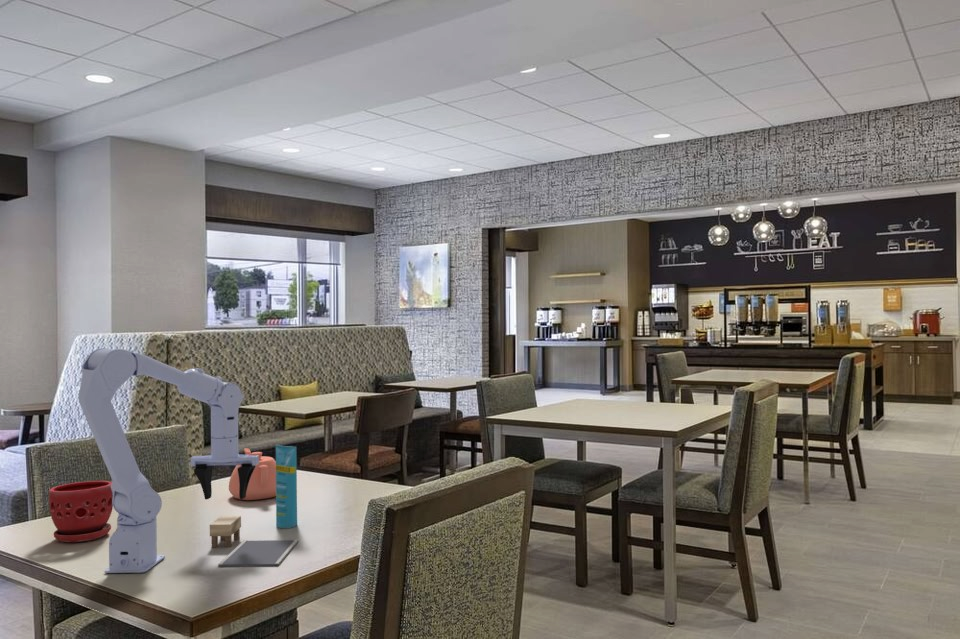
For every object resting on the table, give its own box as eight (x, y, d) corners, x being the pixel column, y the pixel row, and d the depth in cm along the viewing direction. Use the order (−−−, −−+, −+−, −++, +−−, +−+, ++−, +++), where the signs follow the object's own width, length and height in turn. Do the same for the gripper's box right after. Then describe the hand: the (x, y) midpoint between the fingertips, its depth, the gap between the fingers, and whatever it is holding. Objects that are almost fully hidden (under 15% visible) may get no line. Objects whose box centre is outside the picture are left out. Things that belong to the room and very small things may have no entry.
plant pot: (127, 531, 172) (126, 480, 172) (82, 547, 160) (82, 492, 160) (81, 527, 176) (81, 477, 176) (35, 543, 163) (34, 489, 163)
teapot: (220, 491, 212) (220, 449, 212) (272, 485, 220) (272, 444, 220) (237, 507, 193) (237, 460, 194) (294, 499, 201) (293, 455, 201)
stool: (230, 547, 158) (230, 524, 158) (209, 547, 158) (209, 524, 158) (241, 538, 165) (241, 515, 165) (221, 538, 165) (221, 516, 165)
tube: (268, 526, 175) (267, 445, 175) (283, 521, 179) (282, 442, 179) (291, 530, 171) (290, 448, 171) (305, 525, 175) (305, 445, 175)
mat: (278, 565, 146) (278, 563, 146) (218, 566, 146) (218, 564, 146) (298, 541, 162) (298, 539, 162) (244, 542, 162) (244, 540, 162)
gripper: (262, 433, 166) (263, 493, 166) (198, 434, 166) (199, 494, 166) (253, 438, 159) (253, 501, 159) (186, 439, 159) (187, 501, 159)
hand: (225, 498), depth 162 cm, fingers open, 7 cm apart
